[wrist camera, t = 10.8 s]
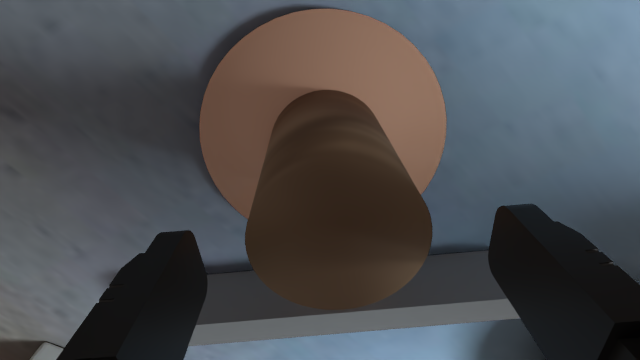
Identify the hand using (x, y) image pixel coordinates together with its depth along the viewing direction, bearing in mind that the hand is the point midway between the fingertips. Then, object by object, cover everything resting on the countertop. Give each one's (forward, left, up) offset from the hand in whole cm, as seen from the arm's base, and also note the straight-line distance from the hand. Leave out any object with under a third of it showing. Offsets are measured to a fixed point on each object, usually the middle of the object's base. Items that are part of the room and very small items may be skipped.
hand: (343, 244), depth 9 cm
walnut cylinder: (0, 0, -7) cm, 7 cm away
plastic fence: (0, +8, -8) cm, 11 cm away
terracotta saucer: (0, 0, -8) cm, 8 cm away
